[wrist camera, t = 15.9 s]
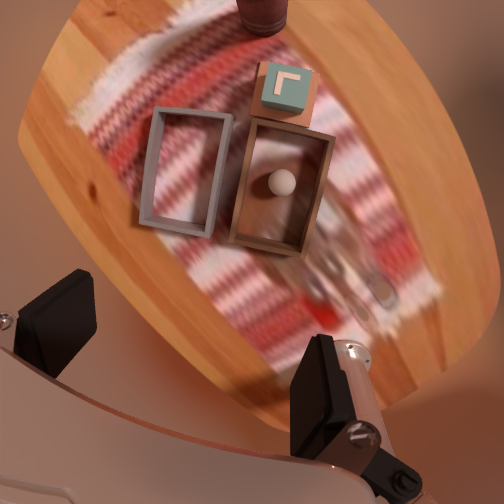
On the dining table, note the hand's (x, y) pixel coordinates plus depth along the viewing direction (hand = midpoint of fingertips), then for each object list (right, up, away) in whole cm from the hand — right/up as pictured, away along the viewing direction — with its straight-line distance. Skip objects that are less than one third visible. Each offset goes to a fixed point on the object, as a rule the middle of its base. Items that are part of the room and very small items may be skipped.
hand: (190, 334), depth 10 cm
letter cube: (+7, +24, +21) cm, 32 cm away
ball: (+6, +13, +26) cm, 29 cm away
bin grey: (-7, +15, +26) cm, 31 cm away
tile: (+7, +24, +22) cm, 33 cm away
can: (+4, +35, +18) cm, 40 cm away
